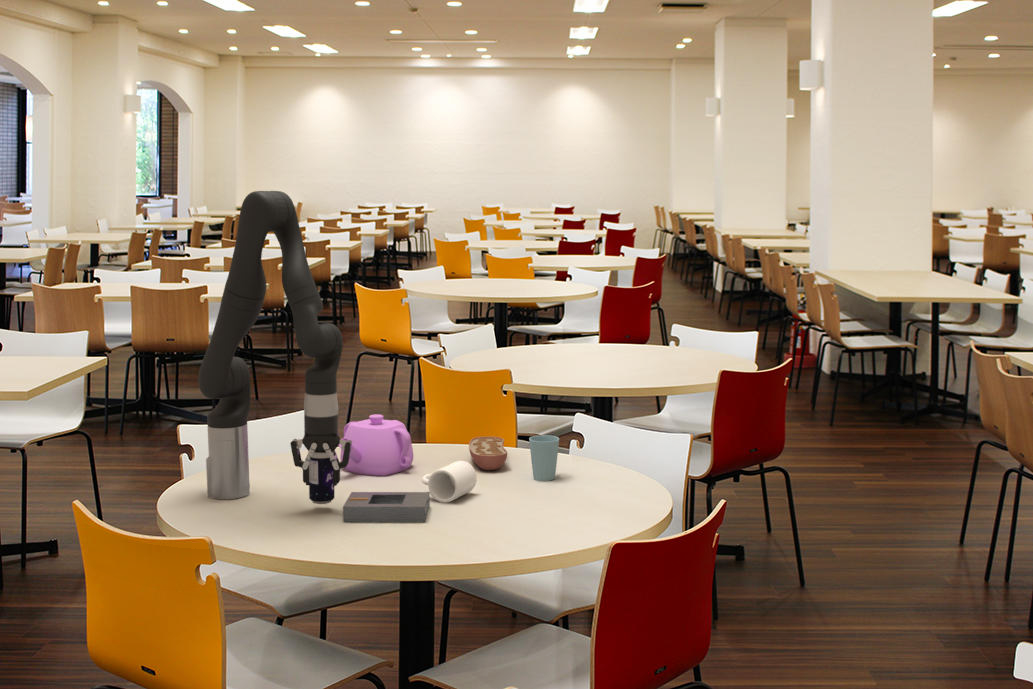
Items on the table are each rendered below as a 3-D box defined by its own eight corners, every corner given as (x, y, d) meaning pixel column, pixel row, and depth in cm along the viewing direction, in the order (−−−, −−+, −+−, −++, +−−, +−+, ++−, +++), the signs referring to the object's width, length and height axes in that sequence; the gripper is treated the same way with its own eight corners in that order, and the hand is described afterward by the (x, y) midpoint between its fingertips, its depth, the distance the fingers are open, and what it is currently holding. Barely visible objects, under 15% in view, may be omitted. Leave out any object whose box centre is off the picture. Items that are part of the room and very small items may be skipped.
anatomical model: (508, 473, 278) (508, 455, 277) (470, 474, 277) (470, 455, 276) (503, 453, 300) (503, 436, 300) (467, 454, 300) (467, 436, 299)
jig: (343, 522, 235) (342, 505, 235) (351, 506, 247) (351, 491, 247) (424, 522, 235) (424, 505, 235) (429, 506, 247) (429, 491, 247)
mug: (477, 494, 258) (477, 462, 257) (457, 505, 249) (457, 471, 248) (433, 488, 263) (433, 457, 262) (413, 499, 254) (412, 466, 253)
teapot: (412, 458, 294) (411, 407, 292) (414, 478, 273) (413, 423, 271) (342, 461, 292) (341, 409, 290) (339, 480, 271) (337, 425, 269)
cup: (533, 482, 268) (533, 442, 267) (525, 475, 276) (525, 435, 274) (562, 481, 270) (562, 440, 269) (554, 473, 277) (554, 434, 276)
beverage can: (329, 506, 241) (328, 454, 239) (305, 504, 242) (304, 452, 240) (338, 499, 247) (337, 448, 245) (314, 497, 248) (314, 446, 246)
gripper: (285, 415, 238) (286, 488, 240) (350, 416, 238) (350, 489, 240) (292, 408, 245) (293, 479, 248) (355, 409, 245) (355, 480, 248)
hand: (321, 484), depth 244 cm, fingers closed on beverage can, 5 cm apart
